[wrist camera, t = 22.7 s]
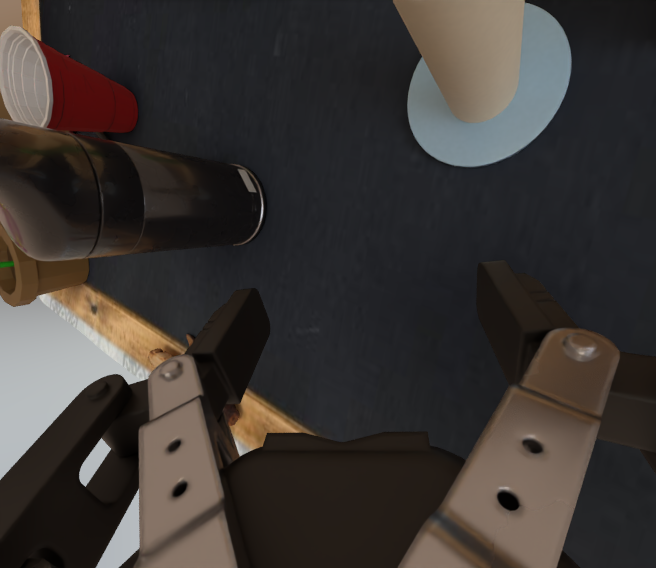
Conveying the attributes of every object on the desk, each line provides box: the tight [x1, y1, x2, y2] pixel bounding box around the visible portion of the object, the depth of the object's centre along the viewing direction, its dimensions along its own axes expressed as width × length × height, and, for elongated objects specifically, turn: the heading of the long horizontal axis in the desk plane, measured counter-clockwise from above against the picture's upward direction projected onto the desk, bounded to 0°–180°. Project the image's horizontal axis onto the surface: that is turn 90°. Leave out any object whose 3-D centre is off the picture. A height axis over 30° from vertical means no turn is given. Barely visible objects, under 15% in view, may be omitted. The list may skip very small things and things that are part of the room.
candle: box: [392, 0, 525, 123], centre depth 17 cm, size 15×5×15 cm
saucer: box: [407, 3, 572, 168], centre depth 24 cm, size 11×11×1 cm
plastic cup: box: [0, 26, 138, 133], centre depth 40 cm, size 11×11×12 cm
